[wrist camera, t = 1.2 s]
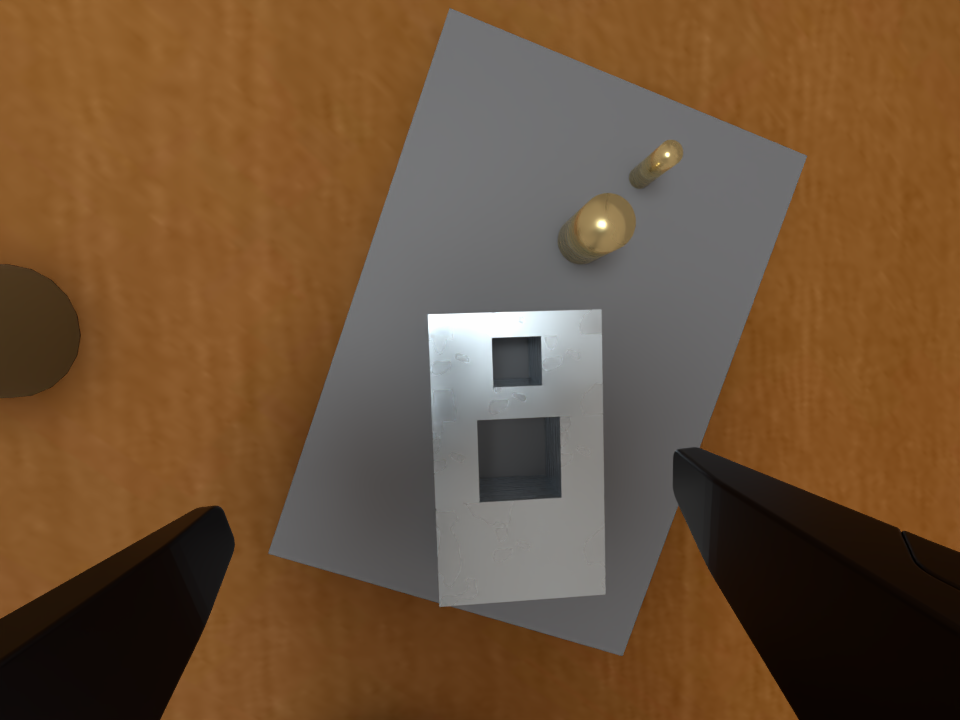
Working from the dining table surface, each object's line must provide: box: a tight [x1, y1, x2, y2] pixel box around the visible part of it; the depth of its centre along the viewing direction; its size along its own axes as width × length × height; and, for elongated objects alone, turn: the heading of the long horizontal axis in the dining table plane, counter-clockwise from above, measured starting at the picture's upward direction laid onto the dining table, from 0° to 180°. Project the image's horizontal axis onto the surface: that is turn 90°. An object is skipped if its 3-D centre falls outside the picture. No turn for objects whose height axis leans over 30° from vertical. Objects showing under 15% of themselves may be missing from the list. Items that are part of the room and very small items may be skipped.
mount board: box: [268, 8, 807, 656], centre depth 22 cm, size 26×18×1 cm
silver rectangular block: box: [428, 309, 606, 607], centre depth 20 cm, size 12×7×3 cm, turn 2°
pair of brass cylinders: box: [558, 140, 683, 264], centre depth 19 cm, size 6×2×4 cm, turn 137°
